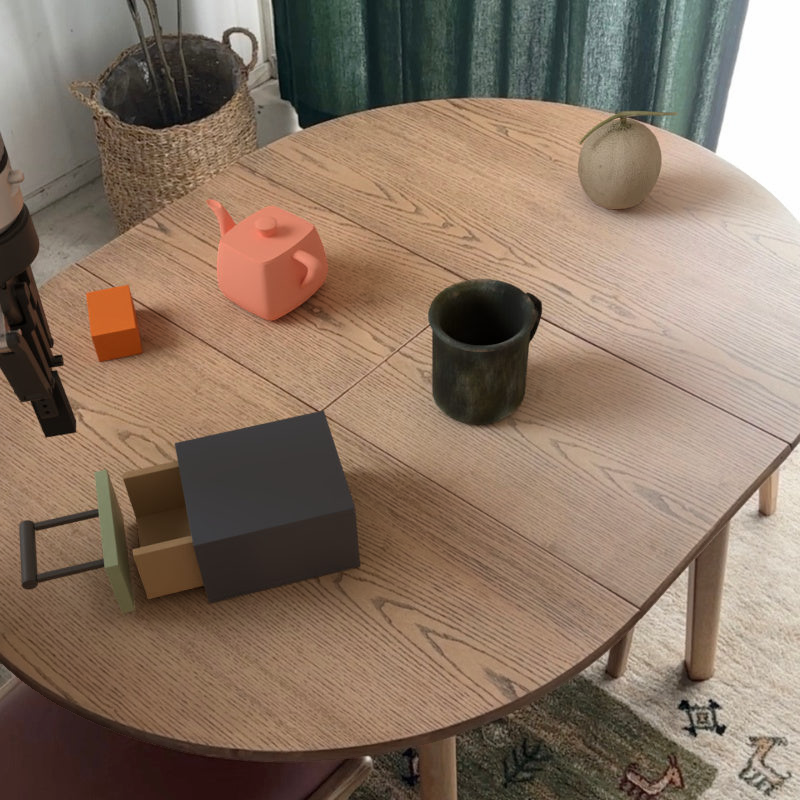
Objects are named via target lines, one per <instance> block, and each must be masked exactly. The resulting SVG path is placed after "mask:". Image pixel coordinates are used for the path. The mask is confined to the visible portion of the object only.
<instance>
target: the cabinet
mask: <svg viewBox="0 0 800 800" xmlns="http://www.w3.org/2000/svg"><path fill="white" fill-rule="evenodd" d="M174 448H175V453H176V459H177V460H176V461H178V465H179V471H180V476H181V482H182V487H183V493H184V498H185V504H186V509H187V515H188V520H189V526H190V531H191V537H192V542H193V547H194V550H195V554H196V558H197V562H198V565H199V569H200V572H201V576H202V580H203V583H204V590H205V595H206V598H207V601H208V604H214V603H217V602H222V601H226V600H230V599H234V598H238V597H241V596H246V595H250V594H255V593H259V592H262V591H266V590H270V589H274V588H279V587H282V586H286V585H290V584H295V583H299V582H303V581H308V580H310V579H314V578H318V577H323V576H326V575H331V574H335V573H338V572H343V571H347V570H351V569H355V568H360V567H361V559H360V548H359V546H360V545H359V537H358V536H359V535H358V524H357V523H358V522H357V513H356V505H355V502H354V499H353V497H352V494H351V493H352V492H351V489H350V487H349V484H348V481H347V478H346V474H345V471H344V468H343V466H342V462H341V459H340V457H339V454H338V453H339V452H338V451H337V450H338V449H337V447H336V444H335V441H334V437H333V435H332V432H331V428H330V425H329V423H328V418H327V416H326V413H325V411H324V410H319V411H315V412H310V413H304V414H301V415H296V416H291V417H287V418H282V419H278V420H274V421H268V422H264V423H259V424H255V425H250V426H246V427H242V428H237V429H232V430H228V431H227V430H226V431H223V432H219V433H214V434H209V435H204V436H200V437H196V438H191V439H187V440H182V441H178V442H174Z"/></svg>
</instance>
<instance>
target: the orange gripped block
mask: <svg viewBox="0 0 800 800" xmlns="http://www.w3.org/2000/svg"><path fill="white" fill-rule="evenodd" d="M85 296H86V305H87V313H88V321H89V330H90V338H91V341H92V344H93V346H94V350H95V353H96V356H97V359H98V362H99V363H100V362H106V361H109V360H110V361H111V360H115V359H120V358H125V357H130V356H131V357H132V356H136V355H141V354H143V347H142V341H141V335H140V329H139V328H140V327H139V323H138V317H137V311H136V306H135V303H134V299H133V295H132V291H131V287H130V284H123V285H121V286H120V285H119V286H113V287H108V288H103V289H98V290H92V291H87V292H86V293H85Z"/></svg>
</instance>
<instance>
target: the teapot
mask: <svg viewBox="0 0 800 800" xmlns="http://www.w3.org/2000/svg"><path fill="white" fill-rule="evenodd" d="M205 202H206V205H207V206H208V207H209V208H210V209H211V210H212V212H213V213H214V214H215V216H216V219H217V221H218V226H219V230H220V231H219V232H220V236H221V238H220V240H219V244H218V250H217V258H216V279H217V284H218V287H219V290H220V291H221V293H222V294H223V295H224V297H225V298H226V299H228V300H229V301H230V302H232V303H233V304H235V305H237V306H239V307H240V308H242V309H244V310H246V311H247V312H249V313H251V314H253V315H255V316H257V317H258V318H262V319H263V320H266V321H275V320H278V319H280V318H282V317H284V316H286V315H287V314H289V313H290V312H292V311H294V310H295V309H297V308H298V307H300V306H301V305H302V304H304V303H305V302H306V301H308V300H309V299H310V298H311V297H312V296H313V295H314V294H315V293H316V292H317V291H319V289H321V287H322V286H323V285H324V284H325V281H326V279H327V277H328V272H329V265H328V264H329V263H328V259H327V255H326V251H325V247H324V244H323V242H322V239H321V237H320V234H319V232H318V230H317V228H316V226H315V225H314V224H312V223H311V222H309V221H307V220H306V219H303V218H302V217H300V216H297V215H295V214H294V213H292V212H290V211H287V210H285V209H282V208H280V207H278V206H276V205H268V206H265V207H263V208H261V209H259V210H257V211H255V212H254V213H253V214H250V215H249V216H247V217H245V218H243V220H241V221H240V222H238V223H237V224H236V222H235V221H234V219H233V217H232V216H231V214H230V213H229V212H228V210H227V209H226V208H225V207H224V205H223V204H221V202H219V201H217V200H215V199H211V198H209V199H207V200H206V201H205Z"/></svg>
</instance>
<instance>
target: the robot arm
mask: <svg viewBox="0 0 800 800" xmlns="http://www.w3.org/2000/svg"><path fill="white" fill-rule="evenodd" d="M24 180H25V174H24V172H23V171H22V170H21V169H13V168H12V165H11V160H10V157H9V152H8V150H7V146H6V145H5V142H4V138H3V135H2V133H1V131H0V370H1V372H2V374H3V375H4V377H5V378H6V380H7V382H8V384H9V386H10V387H11V389H12V390H13V393H14V395H16V397H17V399H18V400H19V402H20V403H27V402H30V404H31V407H32V409H33V411H34V414H35V415H36V418H37V421H38V423H39V426H40V428H41V431H42V433H43V435H44V437H45V439H46V438H53V437H59V436H65V435H69V434H70V435H71V434H75V433H77V419H76V415H75V414H74V413H75V412H74V411H73V409H72V406H71V403H70V401H69V397H68V395H67V393H66V390H65V387H64V384H63V382H62V380H61V377H60V375H59V372H58V370H56V369H55V370H53V368H59V367H64V366H65V361H64V356H63V353H62V354H56V355H54V354H53V351H52V349H53V348H54V346H55V339H54V338H53V336H52V332H51V330H50V329H51V328H50V326H49V323H48V320H47V316H46V312H45V309H44V306H43V303H42V300H41V296H40V292H39V289H38V285H37V283H36V279H35V276H34V273H33V269H32V264H33V262H34V261H35V260H36V258H37V257H38V254H39V251H40V247H41V246H40V245H41V244H40V238H39V235H38V233H37V230H36V227H35V223H34V221H33V219H32V215H31V212H30V210H29V207H28V206H27V204H26V203H25V202H24V201H25V200H24V196H23V193H22V190H21V187H20V184H21V183H23V182H24Z"/></svg>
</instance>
